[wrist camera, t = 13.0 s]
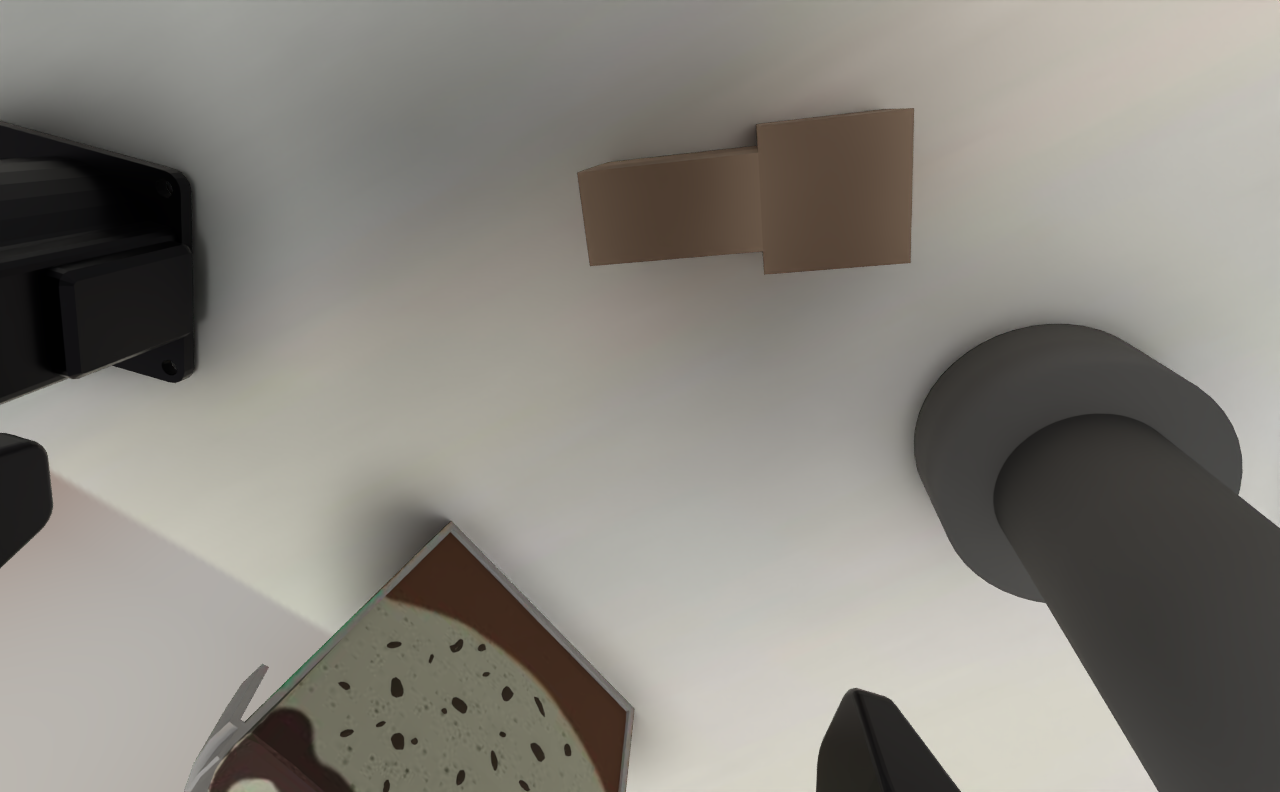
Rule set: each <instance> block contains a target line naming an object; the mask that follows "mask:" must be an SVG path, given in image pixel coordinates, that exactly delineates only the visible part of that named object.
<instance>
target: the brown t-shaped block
mask: <svg viewBox="0 0 1280 792" xmlns="http://www.w3.org/2000/svg"><path fill="white" fill-rule="evenodd" d="M756 131H757V146H749V147H740V148H731V149H722V150H713V151H704V152H695V153H686V154H677V155H668V156H659V157H650V158H641V159H632V160H623V161H614V162H607V163H604V164H601V165H598V166H595V167H592V168H589V169H586V170H583V171H580V172H577V175H578V182H579V189H580V197H581V204H582V211H583V219H584V226H585V233H586V241H587V248H588V255H589V263H590V266H597V265H608V264H620V263H632V262H644V261H655V260H667V259H679V258H690V257H702V256H714V255H726V254H737V253H749V252H761V251H763V264H764V275H765V274H777V273H790V272H802V271H815V270H827V269H840V268H852V267H865V266H878V265H890V264H903V263H910V261H911V218H912V175H913V132H914V108H908V109H882V110H873V111H865V112H856V113H848V114H839V115H830V116H822V117H813V118H805V119H796V120H788V121H779V122H770V123H762V124H756Z"/></svg>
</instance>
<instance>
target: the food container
mask: <svg viewBox="0 0 1280 792" xmlns="http://www.w3.org/2000/svg"><path fill="white" fill-rule="evenodd" d="M268 668H269V667H268V666H266V665H264V664H262V665H261V666H260V667H259V668H258V669H257V670H256V671H255V672H254V673H252V674H251V675H250V676H249V677H248V678H247V679H246V680H245V681H244V682H243V683H242V685H241V686H240V687H239V689H238V690H237V692H236V693H235V695H234V697H233V698H232V700H231V701H230V703H229V704H228V706H227V707H226V709H225V711H224V713H223V714H222V716H221V717H220V719H219V721H218V723H217V724H216V726H215V728H214V729H213V731H212V733H211V735H210V736H209V738H208V740H207V741H206V743H205V745H204V747H203V748H202V750H201V752H200V753H199V755H198V757H197V758H196V760H195V762H194V764H193V766H192V769H191V772H190V775H189V778H188V781H187V783H186V786H185V790H184V792H626V785H627V776H628V766H629V756H630V747H631V737H632V727H633V718H634V708H633V707H632V706H631V705H630V704H629V703H628V702H627V701H626V700H625V699H624V698H623V697H622V696H621V695H620V694H619V693H618V692H617V691H616V690H615V689H614V688H613V687H612V686H611V684H610V683H609V682H608V681H607V680H606V679H605V678H604V677H603V676H602V675H601V674H600V673H599V672H598V671H597V670H596V669H595V668H594V667H593V666H592V665H591V664H590V663H589V662H588V661H587V660H586V659H585V658H584V657H583V656H582V655H581V654H580V653H579V652H578V651H577V650H576V649H575V648H574V647H573V646H572V644H571V643H570V642H569V641H568V640H567V639H566V638H565V637H564V636H563V635H562V634H561V633H560V632H559V631H558V630H557V629H556V628H555V627H554V626H553V625H552V624H551V623H550V622H549V621H548V620H547V619H546V618H545V617H544V616H543V615H542V614H541V613H540V612H539V611H538V610H537V609H536V608H535V607H534V605H533V604H532V603H531V602H530V601H529V600H528V599H527V598H526V597H525V596H524V595H523V594H522V593H521V592H520V591H519V590H518V589H517V588H516V587H515V586H514V585H513V584H512V583H511V582H510V581H509V580H508V579H507V578H506V577H505V576H504V575H503V574H502V573H501V572H500V571H499V570H498V569H497V568H496V567H495V565H494V564H493V563H492V562H491V561H490V560H489V559H488V558H487V557H486V556H485V555H484V554H483V553H482V552H481V551H480V550H479V549H478V548H477V547H476V546H475V545H474V544H473V543H472V542H471V541H470V540H469V539H468V538H467V537H466V536H465V535H464V534H463V533H462V532H461V531H460V530H459V529H458V528H457V527H456V525H455V524H454V523H453V522H452V521H451V522H450V523H449V524H448V525H447V526H445V527H444V528H443V529H442V530H441V531H440V532H439V533H438V534H437V535H436V536H435V537H434V538H433V539H432V540H430V541H429V542H428V543H427V544H426V545H425V546H424V547H423V548H422V549H421V550H420V551H419V552H418V553H417V554H416V555H415V556H414V557H413V558H412V559H411V560H410V561H409V562H408V563H407V564H406V565H405V566H404V567H403V568H402V569H401V570H400V571H399V572H398V573H397V574H396V575H395V576H394V577H393V578H392V579H391V580H389V581H388V582H387V583H386V584H385V585H384V586H383V587H382V588H381V589H380V590H379V591H378V592H377V593H376V594H375V595H374V596H373V597H372V598H371V599H370V600H369V601H368V602H367V603H366V604H365V605H364V606H363V607H362V608H361V609H360V610H359V611H358V612H357V613H356V614H355V615H354V616H353V617H352V618H351V619H350V620H349V621H347V622H346V623H345V624H344V625H343V626H342V627H341V628H340V629H339V630H338V631H337V632H336V633H335V634H334V635H333V636H332V637H331V638H330V639H329V640H328V641H327V642H326V643H325V644H324V645H323V646H322V647H321V648H320V649H319V650H318V651H317V652H316V653H315V654H314V655H313V656H312V657H311V658H310V659H309V660H308V661H307V662H306V663H304V664H303V665H302V666H301V667H300V668H299V669H298V670H297V671H296V672H295V673H294V674H293V675H292V676H291V677H290V678H289V679H288V680H287V681H286V682H285V683H284V684H283V685H282V686H281V687H280V688H279V689H278V690H277V691H276V692H275V693H274V694H273V695H272V696H271V697H270V698H269V699H268V700H267V701H266V702H265V703H264V704H262V705H261V706H260V707H259V709H257V711H255V712H254V713H253V714H252V715H251V716H250V717H249V718H248V719H247V720H246V721H245V722H243V721H242V720H241V717H242V715H243V713H244V712H245V710H246V708H247V706H248V704H249V703H250V701H251V699H252V697H253V695H254V693H255V692H256V690H257V688H258V686H259V684H260V683H261V681H262V679H263V677H264V675H265V673H266V672H267V670H268Z"/></svg>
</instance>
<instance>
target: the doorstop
mask: <svg viewBox="0 0 1280 792" xmlns="http://www.w3.org/2000/svg"><path fill="white" fill-rule="evenodd" d="M914 455H915V460H916V465H917V469H918V472H919V475H920V477H921V480H922V482H923V484H924V487H925V489H926V491H927V493H928V495H929V497H930V500H931V502H932V504H933V506H934V508H935V511H936V513H937V515H938V517H939V519H940V521H941V524H942V526H943V528H944V530H945V532H946V534H947V537H948V539H949V541H950V542H951V544H952V546H953V548H954V549H955V551H956V553H957V554H958V555H959V556H960V558H961V559H962V560H963V562H964V563H965V564H966V565H967V566H968V567H969V568H970V569H971V570H972V571H973V572H974V573H975V574H977V575H978V576H980V577H981V578H982V579H984V580H985V581H986V582H988V583H989V584H991V585H993V586H995V587H997V588H999V589H1001V590H1002V591H1005V592H1007V593H1010V594H1012V595H1015V596H1017V597H1021V598H1025V599H1028V600H1032V601H1036V602H1043V603H1046V604H1047V606H1048V607H1049V609H1050V611H1051V612H1052V614H1053V616H1054V617H1055V619H1056V621H1057V622H1058V624H1059V626H1060V627H1061V629H1062V631H1063V632H1064V634H1065V636H1066V637H1067V639H1068V641H1069V643H1070V644H1071V646H1072V648H1073V649H1074V651H1075V653H1076V654H1077V656H1078V658H1079V659H1080V661H1081V663H1082V664H1083V666H1084V668H1085V669H1086V671H1087V673H1088V674H1089V676H1090V678H1091V679H1092V681H1093V683H1094V684H1095V686H1096V688H1097V689H1098V691H1099V693H1100V694H1101V696H1102V698H1103V699H1104V701H1105V703H1106V704H1107V706H1108V708H1109V709H1110V711H1111V713H1112V714H1113V716H1114V718H1115V720H1116V721H1117V723H1118V725H1119V726H1120V728H1121V730H1122V731H1123V733H1124V735H1125V736H1126V738H1127V740H1128V741H1129V743H1130V745H1131V746H1132V748H1133V750H1134V751H1135V753H1136V755H1137V756H1138V758H1139V760H1140V761H1141V763H1142V765H1143V766H1144V768H1145V770H1146V771H1147V773H1148V775H1149V776H1150V778H1151V780H1152V781H1153V783H1154V785H1155V786H1156V788H1157V790H1158V791H1159V792H1280V528H1279V527H1277V526H1276V525H1275V524H1274V523H1272V522H1271V521H1270V520H1269V519H1267V518H1266V517H1265V516H1264V515H1262V514H1261V513H1260V512H1259V511H1257V510H1256V509H1255V508H1253V507H1252V506H1251V505H1250V504H1248V503H1247V502H1246V501H1245V500H1243V499H1242V498H1241V497H1240V496H1238V494H1239V491H1240V486H1241V479H1242V454H1241V450H1240V445H1239V440H1238V438H1237V435H1236V433H1235V430H1234V428H1233V425H1232V424H1231V422H1230V420H1229V419H1228V417H1227V416H1226V414H1225V413H1224V411H1223V410H1222V409H1221V408H1220V406H1219V405H1218V404H1217V403H1216V402H1215V401H1214V400H1213V399H1212V398H1211V397H1210V396H1209V395H1207V394H1206V393H1205V392H1204V391H1202V390H1201V389H1200V388H1199V387H1197V386H1196V385H1194V384H1193V383H1191V382H1189V381H1188V380H1186V379H1184V378H1183V377H1181V376H1180V375H1178V374H1176V373H1175V372H1173V371H1172V370H1170V369H1168V368H1167V367H1165V366H1164V365H1162V364H1160V363H1159V362H1157V361H1156V360H1154V359H1152V358H1151V357H1149V356H1148V355H1146V354H1144V353H1143V352H1141V351H1139V350H1138V349H1136V348H1135V347H1133V346H1131V345H1130V344H1128V343H1126V342H1125V341H1123V340H1121V339H1119V338H1118V337H1116V336H1113V335H1111V334H1108V333H1106V332H1103V331H1101V330H1097V329H1093V328H1089V327H1085V326H1078V325H1070V324H1047V325H1038V326H1031V327H1026V328H1022V329H1018V330H1014V331H1011V332H1008V333H1005V334H1002V335H999V336H997V337H995V338H993V339H991V340H989V341H986V342H984V343H982V344H980V345H979V346H977V347H976V348H974V349H973V350H971V351H969V352H968V353H966V354H965V355H964V356H963V357H961V358H960V359H959V360H958V361H956V362H955V363H954V364H953V365H952V366H951V367H950V368H949V369H948V370H947V371H946V372H945V373H944V374H943V375H942V376H941V377H940V379H939V380H938V381H937V383H936V384H935V385H934V386H933V388H932V389H931V391H930V393H929V394H928V396H927V398H926V400H925V401H924V404H923V406H922V409H921V411H920V413H919V417H918V420H917V424H916V428H915V437H914Z"/></svg>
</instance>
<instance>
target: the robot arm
mask: <svg viewBox="0 0 1280 792" xmlns="http://www.w3.org/2000/svg"><path fill="white" fill-rule="evenodd" d="M167 181H168V182H169V183H170V184H171V186H172V190H173V192H172V194H171V193H170V192H169V191H168V189H167V186H166V183H167ZM171 361H172V362H173V363H174V364H175V365H176V367H177V370H176V369H175V368H174V367H173V365H172V362H171ZM109 366H115V367H119V368H122V369H126V370H129V371H133V372H136V373H140V374H143V375H146V376H150V377H153V378H157V379H160V380H164V381H167V382H172V383H176V382H179V381H182V380H184V379H186V378H188V377H190V376H191V375H192V373H193V370H194V338H193V270H192V207H191V187H190V184H189V182H188V180H187V178H186V177H185V176H184V175H183V174H182V173H181V172H179V171H177V170H175V169H172V168H169V167H165V166H162V165H158V164H154V163H151V162H147V161H143V160H140V159H136V158H132V157H129V156H125V155H121V154H118V153H114V152H111V151H107V150H103V149H100V148H96V147H92V146H89V145H85V144H81V143H78V142H74V141H70V140H67V139H63V138H60V137H56V136H52V135H49V134H45V133H41V132H38V131H34V130H30V129H27V128H23V127H19V126H16V125H12V124H9V123H5V122H1V121H0V405H1V404H3V403H6V402H8V401H11V400H13V399H16V398H19V397H21V396H24V395H26V394H29V393H32V392H34V391H37V390H39V389H42V388H45V387H47V386H50V385H52V384H55V383H57V382H60V381H63V380H65V379H68V378H71V379H78V378H81V377H84V376H86V375H89V374H91V373H94V372H96V371H99V370H101V369H104V368H106V367H109ZM52 509H53V498H52V490H51V480H50V471H49V462H48V455H47V452H46V450H45V449H44V448H43V446H42V445H40V444H39V443H37V442H35V441H31V440H28V439H25V438H21V437H18V436H15V435H11V434H7V433H0V568H1V567H2V566H3V565H4V564H5V563H6V562H7V561H8V560H10V559H11V558H12V557H13V556H14V555H15V554H16V553H17V552H18V551H19V550H20V549H21V548H22V547H23V546H24V545H26V544H27V543H28V542H29V541H30V540H31V539H32V538H33V537H34V536H35V535H36V534H37V533H38V532H39V531H40V530H41V529H42V528H43V527H44V526H45V524H46V523H47V522H48V520H49V518H50V516H51V514H52ZM816 792H961V791H960V790H959V789H958V787H957V786H956V785H955V783H954V782H953V781H952V779H951V778H950V777H949V775H948V774H947V773H946V771H945V770H944V769H943V767H942V766H941V765H940V763H939V762H938V761H937V759H936V758H935V757H934V755H933V754H932V753H931V751H930V750H929V749H928V747H927V746H926V745H925V743H924V742H923V741H922V739H921V738H920V737H919V735H918V734H917V733H916V731H915V730H914V729H913V727H912V726H911V725H910V723H909V722H908V721H907V719H906V718H905V717H904V715H903V714H902V713H901V711H900V710H899V709H898V707H897V706H896V705H895V704H894V703H893V701H892V700H890V699H889V698H887V697H885V696H882V695H879V694H875V693H872V692H869V691H865V690H862V689H859V688H853V689H850V690H848V692H847V693H846V694H845V695H844V697H843V699H842V701H841V703H840V705H839V707H838V709H837V711H836V713H835V715H834V717H833V720H832V722H831V724H830V726H829V728H828V730H827V732H826V734H825V736H824V738H823V741H822V743H821V746H820V750H819V755H818V762H817V783H816Z"/></svg>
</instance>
